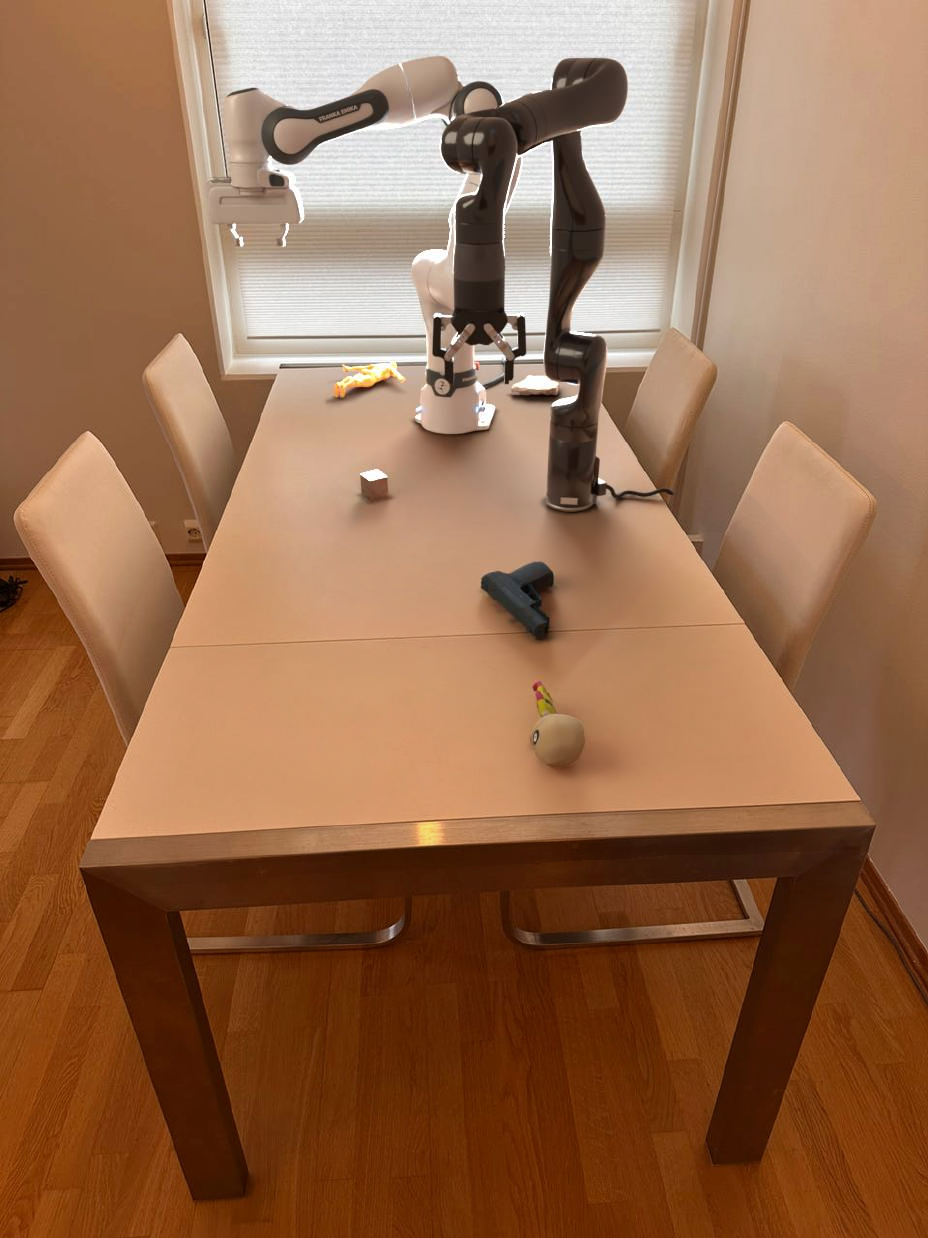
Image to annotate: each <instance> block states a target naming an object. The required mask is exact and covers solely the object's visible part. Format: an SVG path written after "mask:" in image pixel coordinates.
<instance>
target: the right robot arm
mask: <svg viewBox="0 0 928 1238" xmlns="http://www.w3.org/2000/svg"><path fill="white" fill-rule="evenodd" d="M628 83H629V82H628V76H627V72H626V70H625V68H624V66H623V64H621V62H619V61H617V60H616V59H613V58H608V57H567V58H563V59H561V60H560V61H559V63H557V65H556V66H555V68H554V71H553V74H552V77H551V84H550V89H545V90H539V91H534V92H529V93H527V94H524V95H521V96H518V97H516V98H514V99H512V100H509V101H506V102H504V104H503V105H501V106H499V107H495V108H491V109H484V110H480V111H475V112H470V113H466V114H463V115H460V116H458V117H456V118H454V119H453V120H452V121H451V122H450V123H449V124H448V125H447V126H445V128H444V130H443V132H442V134H441V137H440V143H439V150H440V156H441V158H442V161H443V162H444V164H445V165H446V167H447V168H448V169H449V170H451V171H452V172H454V173H456V174H460V175H467V174H468V175H482V176H481V182H480V185H479V188H478V190H477V192H476V193H470V194H466V195H463V196H461V197H459V198H458V199H457V198H456V199H457V201H456V200H455V201H456V203H455V202H454V204H455V209H454V219H455V221H454V225H455V246H454V255H453V276H454V312H453V314H452V316H446V315H441V314H440V313H436V314H435V315H434V319H433V347H432V354H433V356H435V357H440V358H442V359H443V360H444V365H445V379H446V381H449V385H454V355H455V354H456V353H457V351H458V350H459V349H460V348H461V347H462V345H463V344H464V343H467V344H469V345H474V346H476V345H483V346H490V345H491V344H493V343H494V344H495V345H496V347H497V349H498V350H499V351H501V353H502V354H503V357H504V363H503V373H504V378H503V383H504V385H510V382H511V381H513V380H514V377H515V375H514V374H515V371H514V370H515V369H514V368H515V360H516V359H517V358H519V357H525V356H526V355H527V330H526V317H525V314H524V313H523V312H522V311H521V312H520V311H519V312H518V313H516V314H507V313H506V311H505V310H506V309H505V302H506V301H505V299H506V297H505V296H506V295H505V294H506V293H505V291H506V290H505V289H506V253H505V245H504V244H505V242H504V238H505V235H504V234H505V231H504V230H505V229H504V228H505V225H504V224H505V216H504V208H505V203H506V199H507V195H508V190H509V186H510V182H511V178H512V175H513V171H514V167H515V164H516V159H517V157H520V156H522V157H523V156H524V155H526V154H528V153H530V152H532V151H534V150H536V149H538V148H539V147H542V146H544V145H546V144H547V143H549V142H551V154H552V155H551V156H552V157H551V158H552V194H551V197H552V198H551V199H552V200H551V217H550V239H549V240H550V246H549V249H550V250H549V253H550V257H549V258H550V261H549V262H550V265H549V294H548V295H549V296H548V309H547V318H546V326H545V335H544V344H543V345H544V347H543V370H544V374H545V376H547V378H548V379H549V380H552V381H555V382H557V383H559V384H566V385H571V386H577V387H578V391H577V394H576V395H574V396H568V397H563V398H560V399H558V400H556V401H554V402H552V404H551V405H550V410H549V431H548V448H547V449H548V450H547V453H548V454H547V473H546V492H545V504H546V506H548V507H549V508H551V509H553V510H555V511H559V512H564V513H565V512H567V513H576V512H582V511H586V510H588V509H590V508H591V507H592V506H593V505H596V504H597V501H598V500H597V499H598V497H602V496H606V495H607V490H608V491H609V492H610V495H611V496H612V497H613V498H614V499H617V500H618V499H621V498H622V497H624V496H625V495H632V496H636V497H642V498H647V497H653V496H656V495H657V494H660V493H666V494H667V495H669V496H673V495H675V494H674V492H673V491H672V490H671V489H669V488H667V487H662V488H661V487H660V488H658V489H655V490H652V491H648V492H641V491H636V490H631V489H629V490H623V491H621V492H619V493H618V494H617V493H616V491H615V489H614V488H613V487H612V486H611V485H609V484H608V482H606V481H605V480H603V479H602V478H600V477H599V475H600V463H601V460H600V459H601V458H600V457H599V456H597V447H598V446H597V445H598V434H599V433H598V431H599V420H600V412H601V407H602V403H603V402H602V401H603V394H604V385H605V377H606V369H607V361H608V345H607V342H606V340H605V338H604V337H603V336H601V335H597V334H594V333H593V334H592V333H585V332H577V331H572V329H571V325H572V317H573V311H574V308H575V305H576V303H577V302H578V300H579V297H580V296H581V294H582V293H583V291H584V289H585V288H586V287H587V285H588V283H590V281H591V279H592V278H593V276H594V275H595V273H596V271H597V270H598V268H599V266H600V264H601V263H602V260H603V258H604V254H605V241H606V224H607V223H606V220H607V217H606V210H605V206H604V203H603V200H602V199H601V196H600V194H599V192H598V190H597V188H596V185H595V184H594V182H593V179H592V176H591V175H590V173H589V169H588V168H587V165H586V161H585V158H584V153H583V145H582V144H583V142H582V130H584V129H588V128H592V127H602V126H603V127H604V126H607V125H611V124H613V123H614V122H615V121H616V120H617V119H619V118H620V116H621V114H622V113H623V111H624V109H625V106H626V104H627V100H628V99H627V98H628V93H629V92H628V90H629V86H628V85H629V84H628ZM450 323H451V324H452V326H453V327H454V329H455V330H456V331H457V334H456V336H455V337H454V338H453V340H452V342H451V343H450V345H449V346H448V347H447V349H446V348H443V347H441V331H444V330H446V328H447V325H448V324H450ZM508 324H510V325H511V328H512V330H514V331H516V336H517V337H516V341H517V342H516V343H517V345H516V346H513V347H512V346H511V345H510V344H509V342H508V341H507V339H506V337H505V336H504V334H503V333H502V332H503V331H504V329H505V328H506V327H507V325H508Z"/></svg>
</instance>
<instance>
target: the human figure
mask: <svg viewBox="0 0 928 1238" xmlns="http://www.w3.org/2000/svg"><path fill="white" fill-rule="evenodd" d="M342 367H343V368H342V370H343V371H344V372H346V373H347V372H350V371H351V372H353V371H358V372H359V373H357V374H355V375H354V376H353V377H352V376H345V377H344V378H343V379H342V380H341V381H340V382H336V383H335V384H334V390H333V394H334V396H335V397H340V398H344V397H345V396H346V389H348V388H355V387H358V388H360V387H362V388H370V387H373V386H374V385H375V384H376V383H378V382H381V381H383V380H387V379H389V378H390V377H391V376H392V377H393V378H395V379H397V380H398V381H399V382H400V383H404V382H405V381H407V379H408V377H405V376H402V375H401V373H399V372H398V371H397V369H398V366H397V363H396V362H394V361H389V362H388V363H385V362H384V363H375V364H369V365H363V366H362V365H357V366H352V367H350V366H347V365H346V366H345V364H342Z"/></svg>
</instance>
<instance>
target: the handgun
mask: <svg viewBox="0 0 928 1238" xmlns="http://www.w3.org/2000/svg"><path fill="white" fill-rule="evenodd" d="M480 579H481V581H480V589H481V590H482V591H484V592H485V593H486V594H488V595H489V597H490V598H491V599H492V600H494V601H495V602H497V603H498V604H499V605H500V606H501V607H502V608H503V609H505V611H506V612H507V613H508V614H510V615H511V617H512V618H513V619H515V621H517V622H518V623H519V624H520V625H521V626H522V627H524V628H525V631H526V633H530V634H531V635H532V636H533V637H534V638H535V639H536V640H539V639H543V638H546V637H547V636H548V634H549V629H550V617H549V616H548V614H546V613H545V612H544V611H543V610H542V609H541V607H543V598H542V596H541V595H539V593H540V592H542V591H545V590H546V589H548V588H549V587H550V588H552V587H553V586H554V583H555V582H554V581H555V575H554V571H553V570H552V569H551V568H550V567H549V566H548V565H547V564H546V562H543V561H531V562H529V563H527V564H525V565H523V566H520V567H518V568H517V569H515V570H513V571H511V572H510V573H507V572H503V571H500V570H495V571H492V572H491V571H490V572H487V573H485V574H484V575H483V576H482V577H481V578H480Z"/></svg>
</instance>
